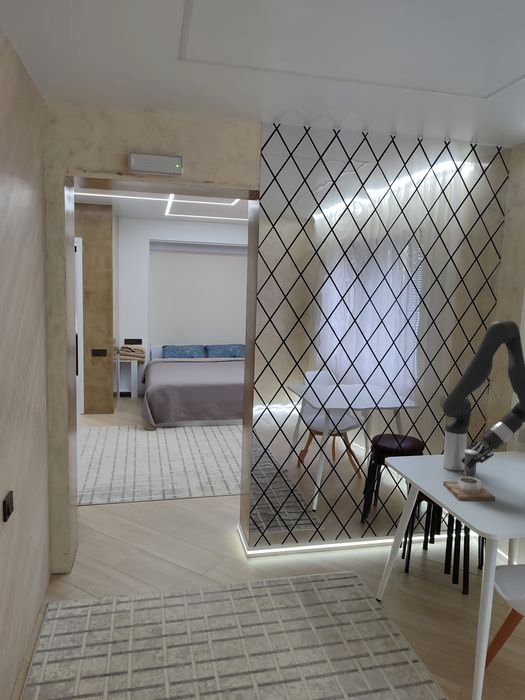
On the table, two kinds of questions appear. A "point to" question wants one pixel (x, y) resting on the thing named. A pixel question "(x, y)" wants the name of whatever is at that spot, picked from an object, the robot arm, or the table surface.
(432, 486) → the table surface
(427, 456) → the table surface
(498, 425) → the robot arm
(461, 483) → the faceted white ring
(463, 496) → the mount board
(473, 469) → the white capped grey cylinder
